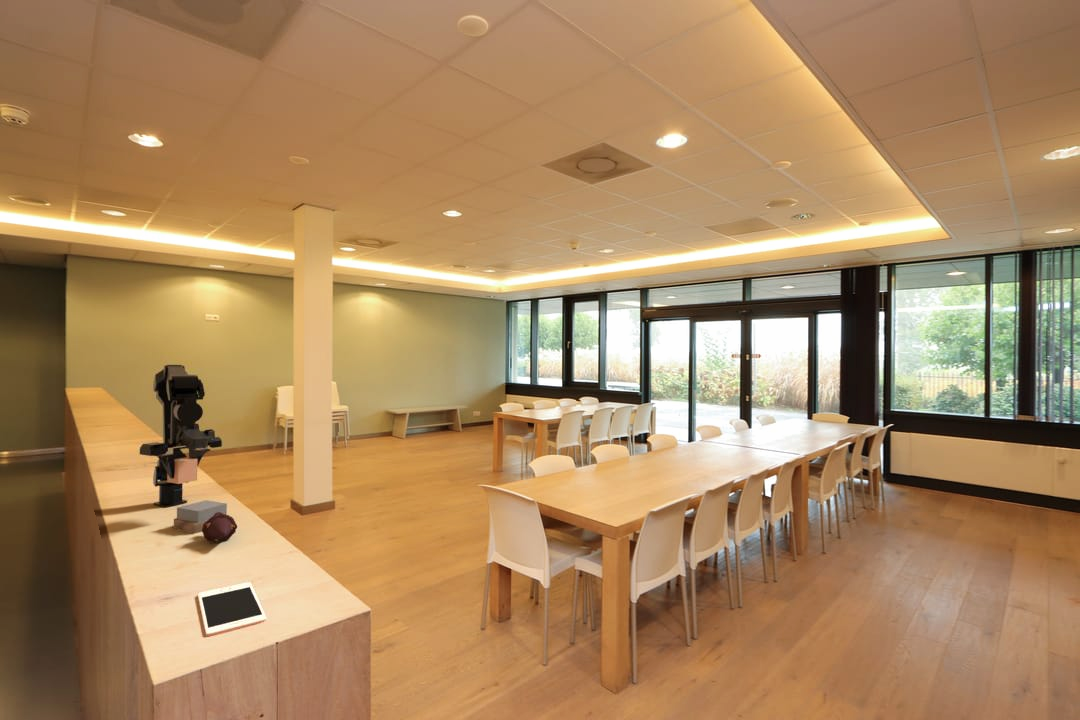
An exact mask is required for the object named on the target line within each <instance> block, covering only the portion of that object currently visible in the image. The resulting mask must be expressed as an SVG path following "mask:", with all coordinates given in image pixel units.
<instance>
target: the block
mask: <svg viewBox="0 0 1080 720" xmlns="http://www.w3.org/2000/svg"><path fill="white" fill-rule="evenodd" d="M197 460H198V459H195V458H189V456H187V457H186V458H179V459H174V478H173V479H171V478H170V477H169V475H168V473H167V482H170V483H176V484H180V483H183V484H187V483H186V482H188V483H191V482H196V481H198V467H197Z"/></svg>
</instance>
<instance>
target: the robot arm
mask: <svg viewBox="0 0 1080 720" xmlns="http://www.w3.org/2000/svg"><path fill="white" fill-rule="evenodd" d="M152 388H153V392H154V393H155V398H156V400H157V401H158V402H159V403H160V404H161V407H162V442H156V441H154V442H147V443H146V442H145V443H143V444H141V445H140V447H139V455H142V456H149V457H157V458H158V459H157V462H156V465H155V466H154V470H153V476H152V481H153V482H152V484H153V486H154V487H157V488H159V490H158V501H154V502H153V504H152V505H154V504H156V505H155V506H158V505H160V506H159V507H162V506H164V507H163V508H167V506H168V507H172V505H173V506H177V505H180V504H184V503H185V502H186V503H188V500H187V499H183V487H184V486H183V484H184V483H180V484H176V483H170V482H167V473H168V475H169V477H170V478H171V479H173V478H174V459H179V458H186V457H188V458H195V459H198V460H197V468H198V466H199V465H200V462H201V460H202V458H203V456H204V455H205V454H206V453H208V452H210V451H212V450H211V449H215V448H221V447H223V440H222V438H221V437H219V436H216V433H215V430H214V429H213V428H210V429H205V430H200V425H199V423H196V422H198V421H199V420H200V419H201V418H202V416H203V413H204V409H203V407H202V406H201V405H200V404H199V403H198V402H197V401H200V400H204V398H205V395H206V392H205V387H204V383H203V382H202V379H201V378H200V379H199V376H198V375H197V374H188V372H187V371H186V368H185V365H183V364H166V365H163V369H162V370H160V371H158V372H157V373H156V374H155V375H154V379H153V387H152ZM209 447H210V448H211V449H210V448H209ZM184 449H188V456H187V455H186V453H185V452H183V450H184ZM188 483H189V482H186V483H185V484H188ZM186 503H185V504H186ZM176 504H177V505H176Z"/></svg>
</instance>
